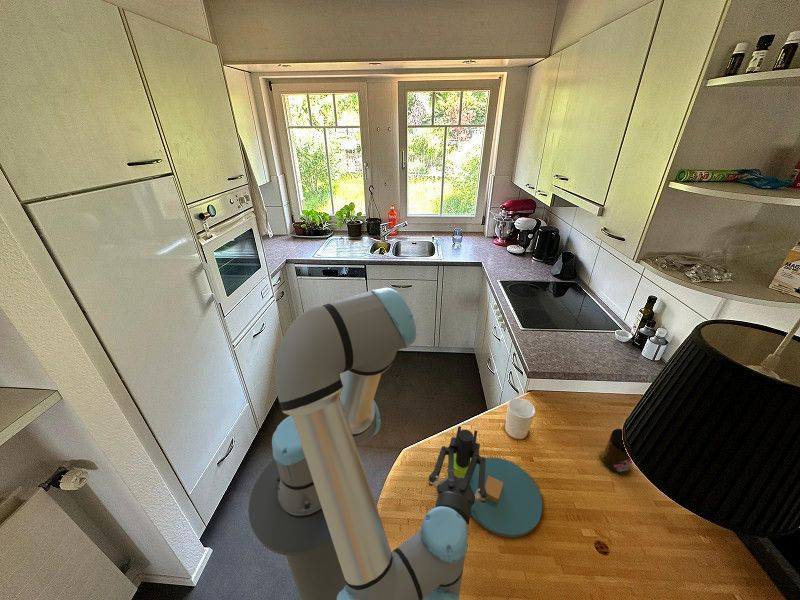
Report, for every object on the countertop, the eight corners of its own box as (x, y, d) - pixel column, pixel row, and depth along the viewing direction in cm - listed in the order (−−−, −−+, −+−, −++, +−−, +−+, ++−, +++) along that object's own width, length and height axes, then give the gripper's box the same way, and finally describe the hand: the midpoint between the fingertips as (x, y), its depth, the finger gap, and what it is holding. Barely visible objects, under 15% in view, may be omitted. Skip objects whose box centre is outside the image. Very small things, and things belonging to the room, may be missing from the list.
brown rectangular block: (481, 496, 83) (482, 491, 82) (487, 479, 87) (488, 475, 86) (497, 504, 81) (498, 499, 80) (502, 487, 85) (503, 482, 84)
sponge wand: (446, 472, 85) (450, 439, 79) (455, 455, 90) (458, 422, 84) (468, 483, 83) (473, 449, 77) (476, 464, 87) (481, 431, 81)
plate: (450, 509, 81) (450, 507, 81) (475, 449, 96) (475, 446, 96) (533, 555, 72) (534, 553, 72) (546, 481, 88) (547, 478, 87)
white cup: (499, 432, 102) (503, 409, 97) (508, 416, 107) (513, 394, 103) (524, 445, 98) (530, 422, 93) (532, 428, 103) (538, 405, 98)
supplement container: (605, 472, 90) (617, 447, 85) (597, 451, 95) (608, 427, 91) (632, 476, 88) (646, 451, 84) (622, 455, 94) (634, 430, 89)
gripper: (412, 516, 72) (436, 433, 91) (489, 543, 67) (497, 449, 86) (412, 496, 68) (437, 414, 88) (494, 523, 63) (501, 430, 83)
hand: (467, 432), depth 87 cm, fingers closed on sponge wand, 4 cm apart
